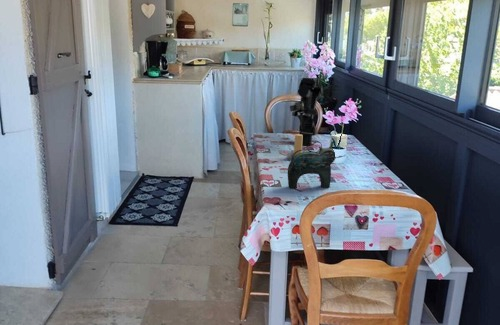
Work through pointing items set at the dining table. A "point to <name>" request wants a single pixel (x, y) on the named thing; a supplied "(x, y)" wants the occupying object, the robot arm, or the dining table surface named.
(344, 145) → the ink box
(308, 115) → the robot arm
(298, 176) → the dark green animal figurine
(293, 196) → the dining table surface
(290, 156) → the switch housing
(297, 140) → the switch tab
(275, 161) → the dining table surface
